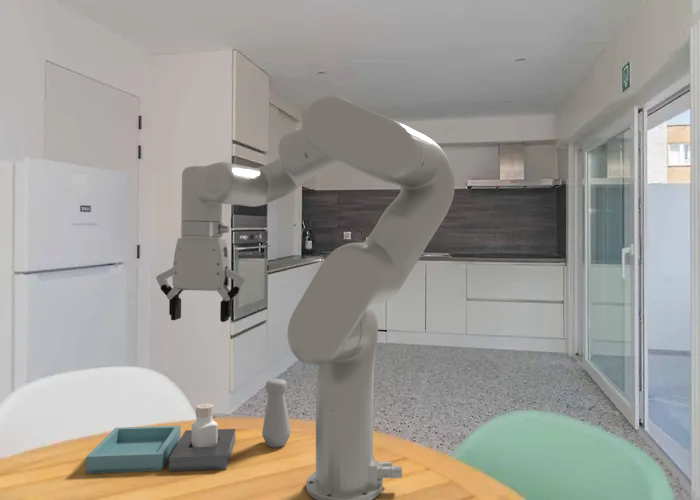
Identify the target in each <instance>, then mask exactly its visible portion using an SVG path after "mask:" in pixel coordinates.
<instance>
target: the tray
mask: <svg viewBox="0 0 700 500" xmlns="http://www.w3.org/2000/svg"><path fill="white" fill-rule="evenodd" d="M181 430H182V426H181V425H161V426H158V425H157V426H134V427H133V426H130V427H128V426H127V427H125V426H124V427H115V428H113V430H112V431H110V432H109V433H108V434H107V436H105V438H104V439H102V440H101V441H100V442H99V444H98V445H96V446H95V448H93V449H92V450H91V451H90V452H89V453H88V455H86V457H85V460H86V461H85V466H86V467H85V468H86V469H85V471H86V473H85V474H87V475H88V474H89V475H90V474H111V473H112V474H113V473H135V472H136V473H137V472H138V473H141V472H161V471H163V470H164V468H165V467H166V465H167V464H168V463H169V457H170V455H171V454H172V452H173V450H174V449H175V447H176V445H177V444H178V442H179V440H180V439H181V437H182V434H181V433H182V431H181Z"/></svg>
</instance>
